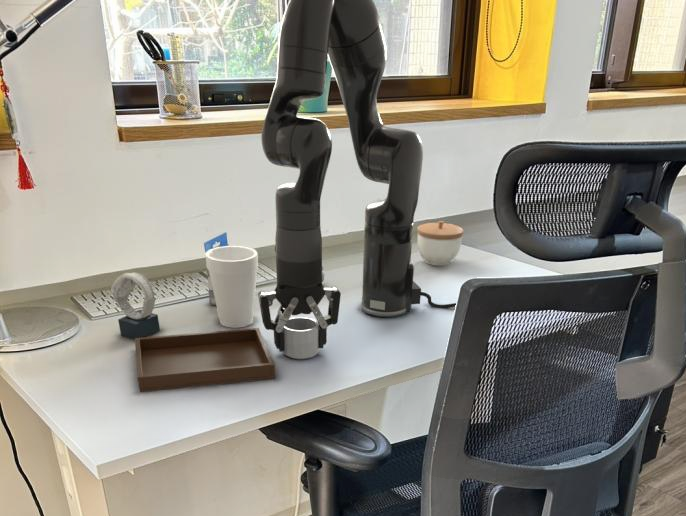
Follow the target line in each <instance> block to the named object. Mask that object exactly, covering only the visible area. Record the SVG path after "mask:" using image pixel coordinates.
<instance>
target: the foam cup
mask: <svg viewBox="0 0 686 516" xmlns="http://www.w3.org/2000/svg"><path fill="white" fill-rule="evenodd" d="M204 253H205V252H204ZM205 264H206V265H205V266H206V270H207V269H208V270H209V274H210V279H211V283H212V288H213V292H214V297H215V301H216V305H215V306H216V310H217V314H218V319H219V323H220V325H222V326H224V327H227V328H233V329H235V328H236V329H237V328H244V327H247V326H250V325H252V324H253V322H254V316H255V315H254V314H255V301H256V288H257V277H258V275H257V274H258V268H259V254H258V251H257V250H256V249H254V248H252V247H247V246H242V245H230V246H223V247H217V248H214V247H213V249H210V250H208V251H207V252H206V253H205Z"/></svg>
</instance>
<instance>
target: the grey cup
mask: <svg viewBox="0 0 686 516" xmlns="http://www.w3.org/2000/svg"><path fill="white" fill-rule="evenodd" d="M283 332H284V352H282V354H283V355H285V356H287V357H289V358H291V359H293V360H307V359H310V358H313V357H314V356H316V355H318V353H319V351H320V348H319V324H318V321H317V319H314V318H310V317H306V316H305V317H304V316H297V317H294V316H293V317H290V318H289V320H288V322H286V324H285V326H284V328H283Z"/></svg>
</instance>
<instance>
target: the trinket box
mask: <svg viewBox="0 0 686 516" xmlns="http://www.w3.org/2000/svg"><path fill="white" fill-rule="evenodd" d="M416 229H417V232H416V233H417V235H416V237H417V238H416V240H417V241H416V244H417V245H416V246H417V250H418V252H419V255H420V257H421V258H422V259H423V260H424V262H425V263H426V264H427V265H432V266H447V265H450V263H451V262H452V261H453V260H454V259H455V258H456V257H457V256H458V254H459V252H460V249H461V246H462V240H463V235H464V229H463V228H462V227H460V226H459V225H456V224H452V223H447V222H446V223H445V222H444V221H443V220H439V221H438V222H428V223H427V222H426V223H423V224H420V225H418V226H417V228H416Z"/></svg>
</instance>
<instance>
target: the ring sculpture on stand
mask: <svg viewBox="0 0 686 516" xmlns="http://www.w3.org/2000/svg"><path fill="white" fill-rule="evenodd" d="M136 284H137V286H139V288H140V289H141V290H142V292H143V295H144V300H143V302H142V307H141V308H142V309H139V310H136V309H134V307H133V306H132V305H131V304H130V303H131V302H129V299H128V298H129V297H130V294H131V292H132V291H133V290H134V288H135V287H136ZM110 293H111V295H112V296H113V300H114V302H115V303H116V304H117V306H118V308H119V309H120V310H121V312H122V313H123V314H124V315H125V316H123V317H120V318H118V319H117V320H118V321H117V322H118V326H119V332H120V336H121V337H124V338H128V339H131V340H134V341H135V338H142V337H151V336H152V335H155V334H156V333H159V332H160V331H161V328H160V327H161V326H160V321H159V320H160V319H159V314H157V313H153V311H154V308H155V304H156V297H155V292H154V289H153V286H152V285H151V283H150V282H149V280H148V279H147V277H146V276H144V275H143V274H142V273H139V272H135V271H133V272H125V273H122V274H120V275H119V276H117V278H116V279H115V280H114V281H113V282H112V284H111V287H110Z"/></svg>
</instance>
